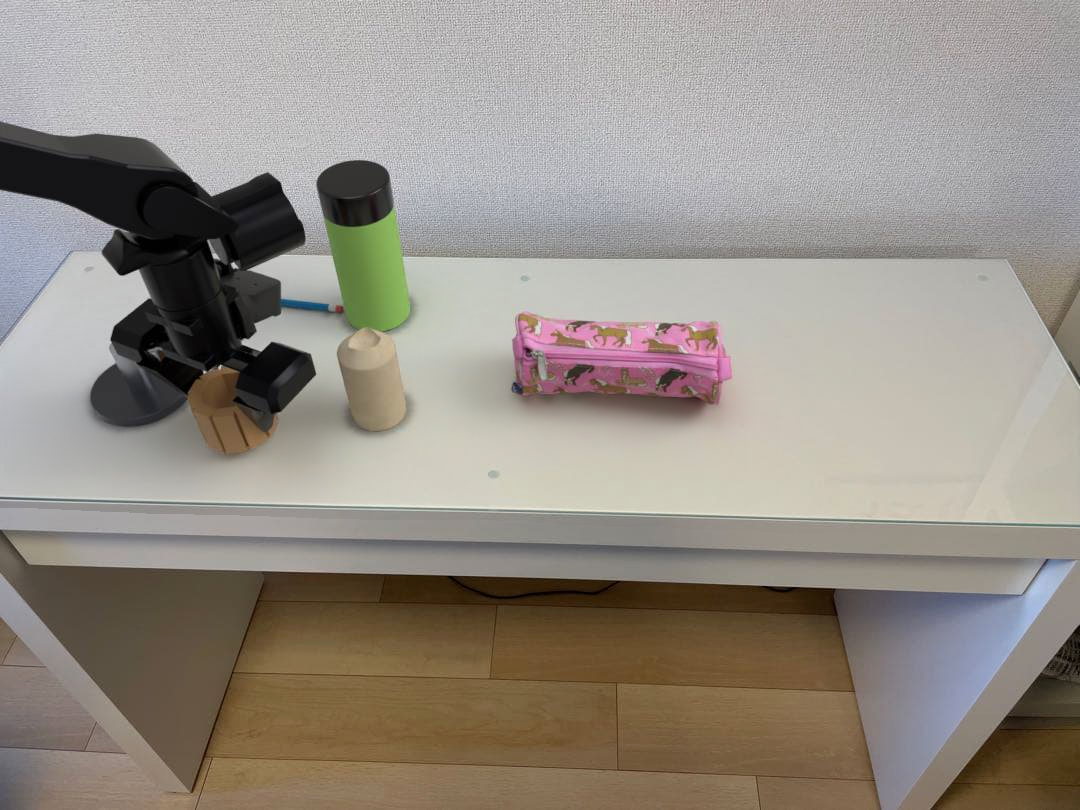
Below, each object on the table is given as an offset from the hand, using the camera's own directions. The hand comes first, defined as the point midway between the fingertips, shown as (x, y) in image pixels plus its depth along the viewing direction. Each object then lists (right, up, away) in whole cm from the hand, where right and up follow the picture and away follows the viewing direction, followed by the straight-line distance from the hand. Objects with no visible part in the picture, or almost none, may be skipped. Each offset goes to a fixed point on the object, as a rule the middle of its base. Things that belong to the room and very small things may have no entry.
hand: (237, 417), depth 83 cm
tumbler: (+11, +12, +15) cm, 22 cm away
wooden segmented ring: (0, -1, +1) cm, 1 cm away
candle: (+13, 0, +4) cm, 14 cm away
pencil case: (+37, +3, +6) cm, 38 cm away
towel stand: (-12, +3, +6) cm, 14 cm away
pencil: (-2, +13, +16) cm, 21 cm away
